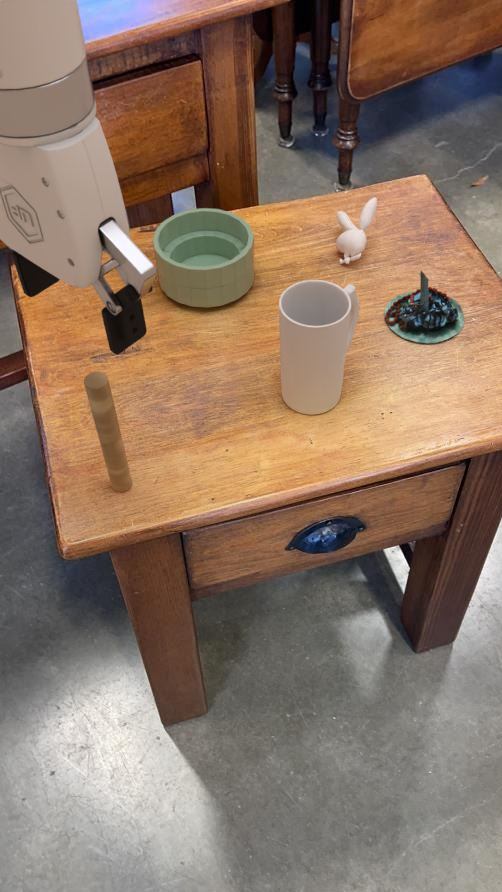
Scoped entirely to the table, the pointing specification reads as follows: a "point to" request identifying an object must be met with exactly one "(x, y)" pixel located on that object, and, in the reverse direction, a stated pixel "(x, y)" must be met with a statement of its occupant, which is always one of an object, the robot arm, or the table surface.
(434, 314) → the dish
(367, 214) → the rabbit figurine
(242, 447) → the table surface
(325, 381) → the mug
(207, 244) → the bowl
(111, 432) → the stick
